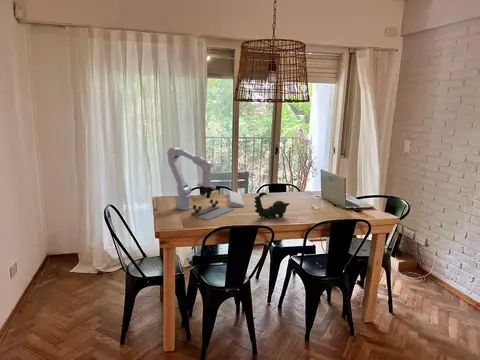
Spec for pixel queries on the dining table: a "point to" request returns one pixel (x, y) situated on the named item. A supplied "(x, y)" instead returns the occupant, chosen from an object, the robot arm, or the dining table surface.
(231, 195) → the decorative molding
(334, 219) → the dining table surface
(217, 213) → the mat
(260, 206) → the toy figurine
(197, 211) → the rail stand
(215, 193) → the rail
